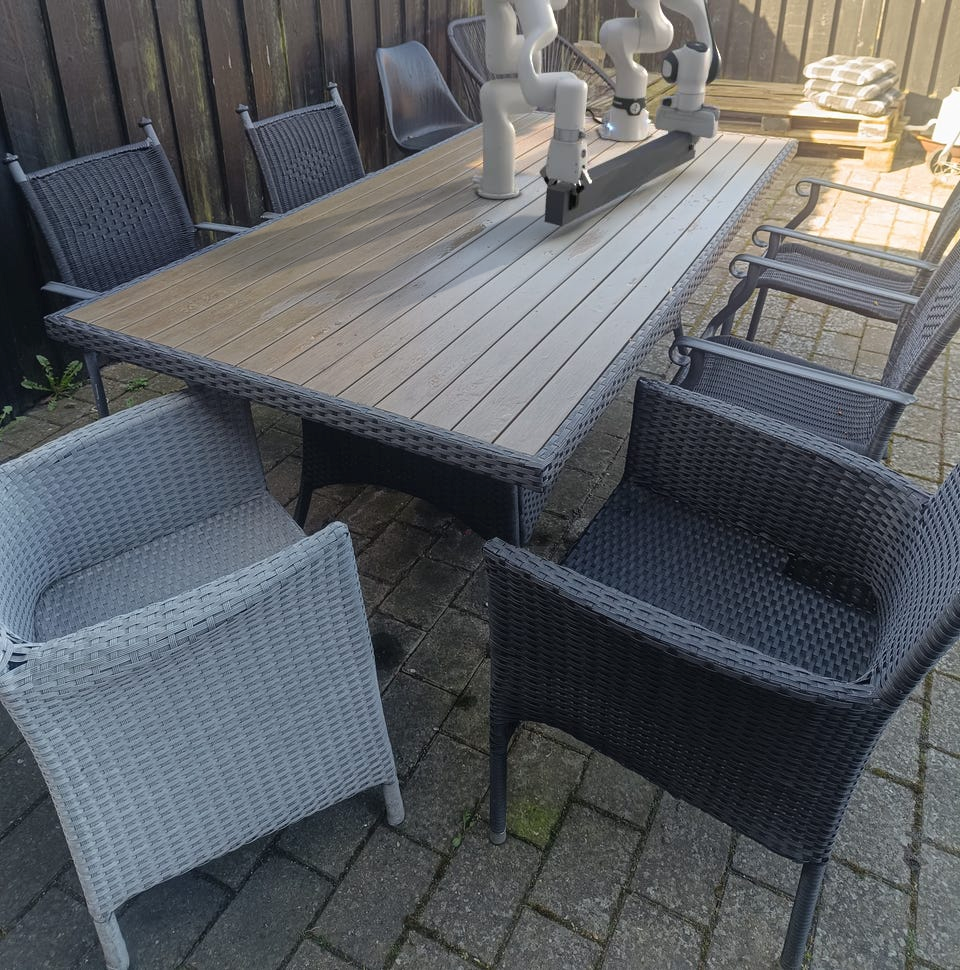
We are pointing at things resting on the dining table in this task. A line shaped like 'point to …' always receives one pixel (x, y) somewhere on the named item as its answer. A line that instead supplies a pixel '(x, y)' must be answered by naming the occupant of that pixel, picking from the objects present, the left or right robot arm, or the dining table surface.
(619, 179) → the beam
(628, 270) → the dining table surface
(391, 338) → the dining table surface
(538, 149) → the dining table surface
